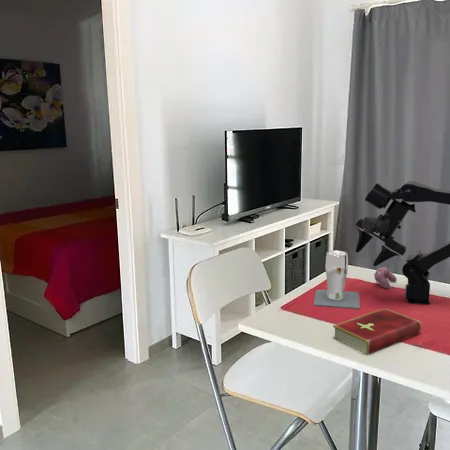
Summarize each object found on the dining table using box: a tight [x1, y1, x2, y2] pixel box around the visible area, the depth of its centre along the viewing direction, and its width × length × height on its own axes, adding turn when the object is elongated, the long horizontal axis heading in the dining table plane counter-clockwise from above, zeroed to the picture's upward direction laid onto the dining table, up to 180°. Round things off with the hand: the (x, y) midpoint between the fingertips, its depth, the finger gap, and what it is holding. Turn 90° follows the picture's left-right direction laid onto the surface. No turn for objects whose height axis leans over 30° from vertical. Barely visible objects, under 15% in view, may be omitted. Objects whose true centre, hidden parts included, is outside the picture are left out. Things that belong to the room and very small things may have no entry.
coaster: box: [313, 289, 361, 310], centre depth 157 cm, size 14×14×1 cm
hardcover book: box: [332, 307, 422, 356], centre depth 130 cm, size 12×21×4 cm, turn 123°
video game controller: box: [373, 266, 398, 290], centre depth 170 cm, size 10×5×7 cm, turn 146°
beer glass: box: [325, 250, 349, 301], centre depth 156 cm, size 7×7×15 cm
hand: (365, 258), depth 156 cm, fingers open, 9 cm apart
